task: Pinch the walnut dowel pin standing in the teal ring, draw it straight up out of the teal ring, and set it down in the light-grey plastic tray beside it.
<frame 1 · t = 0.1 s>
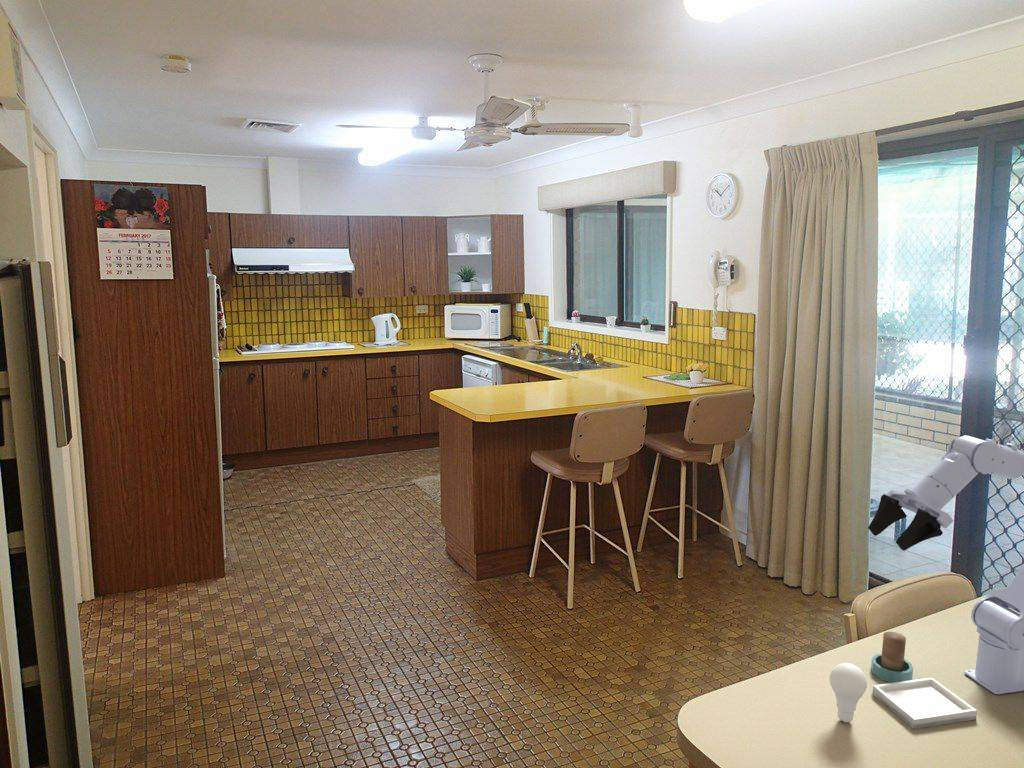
hand: (885, 539, 138), 32 cm above the table, tool tilted 50°, fingers open, 7 cm apart
lightbulb: (844, 722, 136), on the table
teal ring: (891, 673, 152), on the table
tray: (922, 706, 141), on the table
dowel: (893, 655, 151), in the teal ring
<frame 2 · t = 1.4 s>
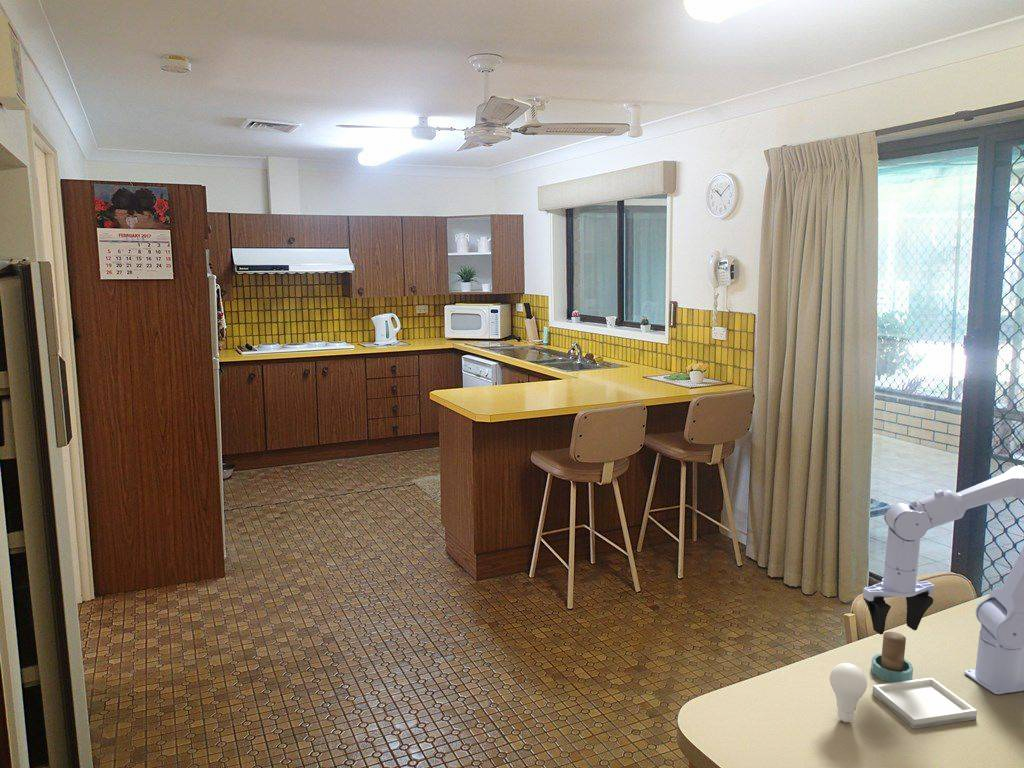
hand: (895, 629, 150), 9 cm above the table, tool pointing down, fingers open, 7 cm apart
nothing on the table moved.
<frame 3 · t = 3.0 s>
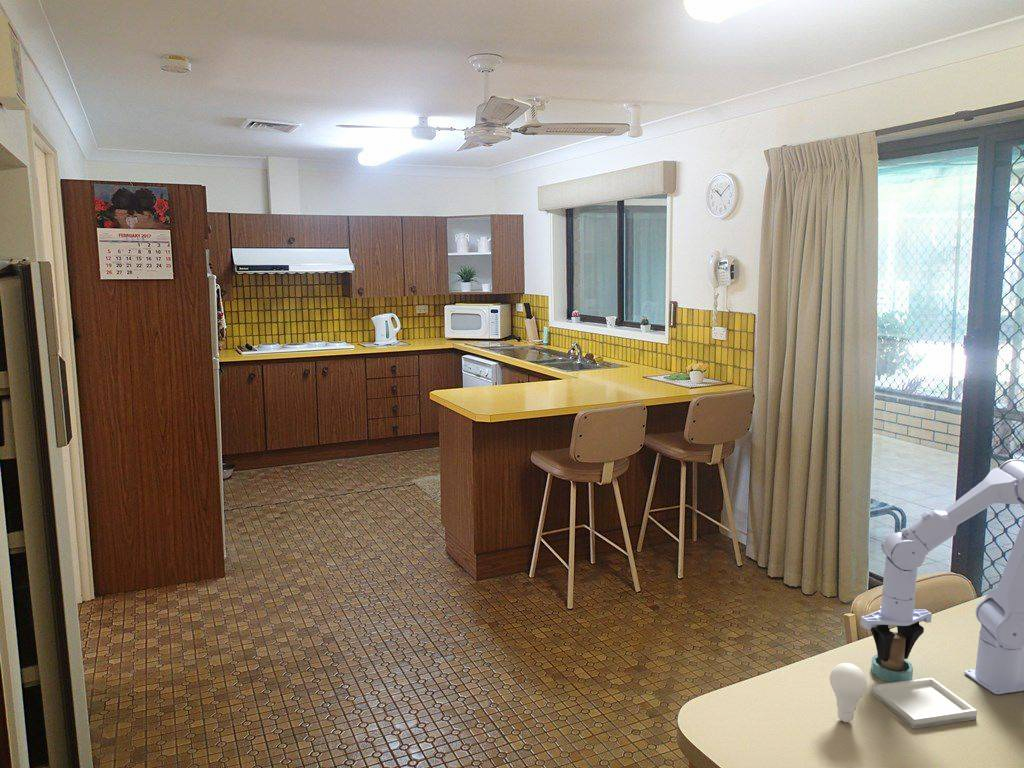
hand: (892, 657, 151), 3 cm above the table, tool pointing down, fingers closed on dowel, 4 cm apart
dowel: (893, 655, 151), in the teal ring, touching gripper
everything else where it was.
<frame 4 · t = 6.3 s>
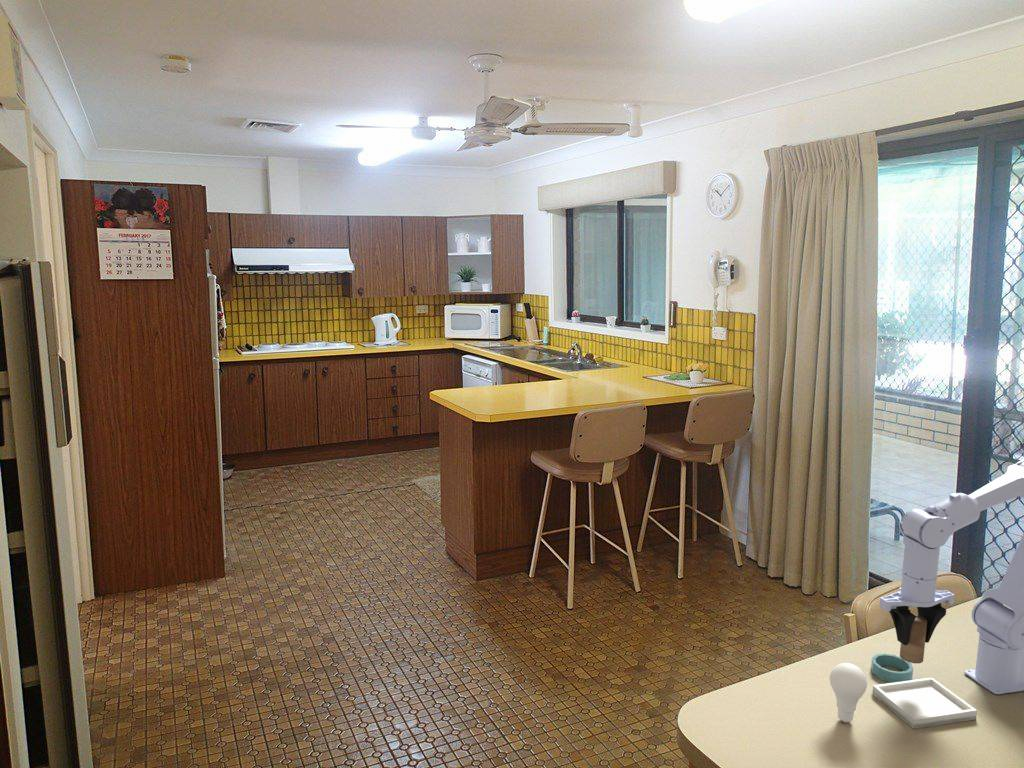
hand: (913, 641, 144), 10 cm above the table, tool pointing down, fingers closed on dowel, 4 cm apart
dowel: (913, 638, 144), point 11 cm above the table, touching gripper
everything else where it was.
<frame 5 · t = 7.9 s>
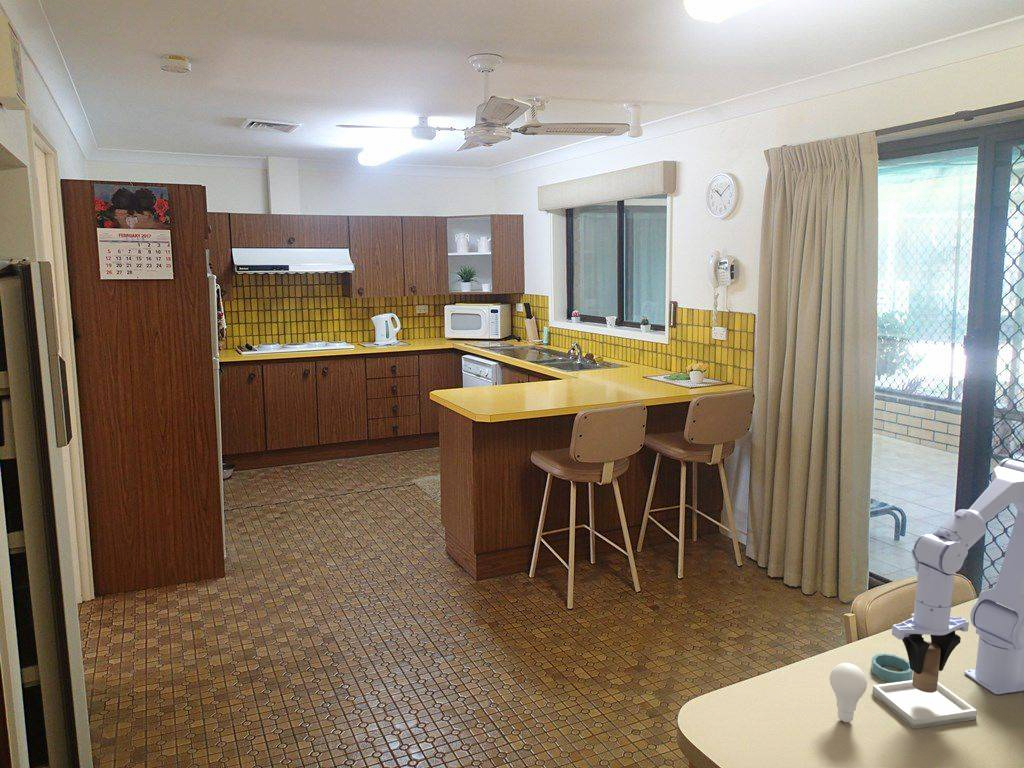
hand: (926, 669, 140), 7 cm above the table, tool pointing down, fingers closed on dowel, 4 cm apart
dowel: (926, 666, 139), point 8 cm above the table, touching gripper
everything else where it was.
when the fingers open (5 cm above the table, at t = 9.5 s): dowel stays where it is, resting on tray.
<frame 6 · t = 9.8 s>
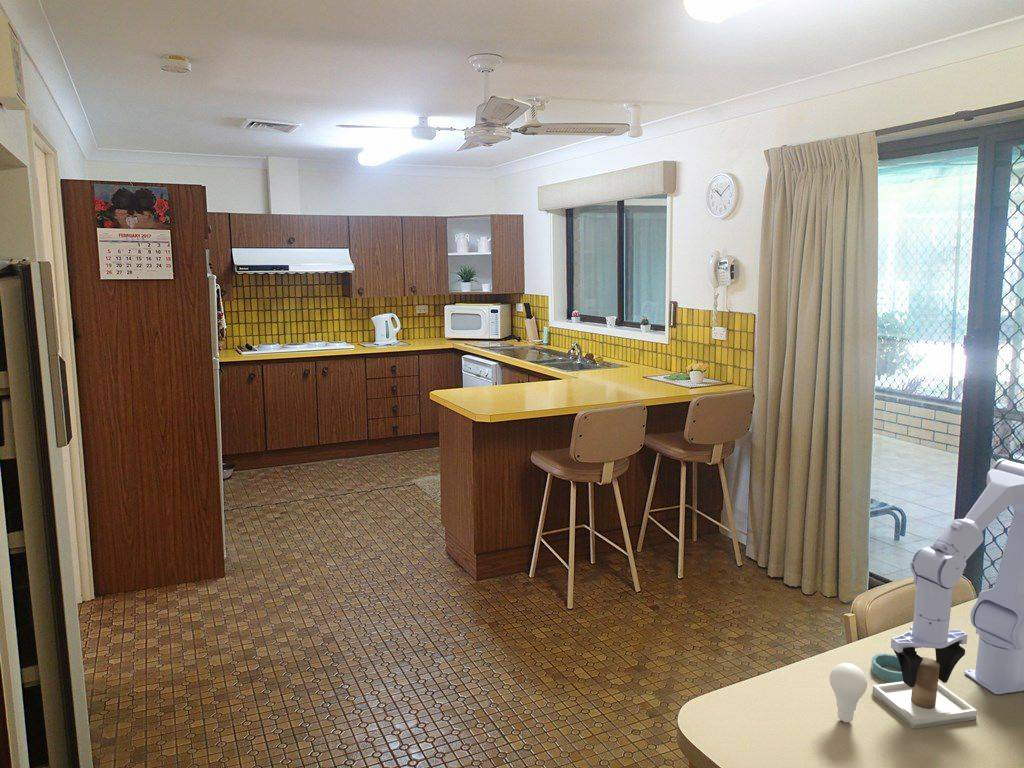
hand: (925, 682, 140), 5 cm above the table, tool pointing down, fingers open, 6 cm apart
dowel: (925, 682, 140), in the tray, point 5 cm above the table
everything else where it was.
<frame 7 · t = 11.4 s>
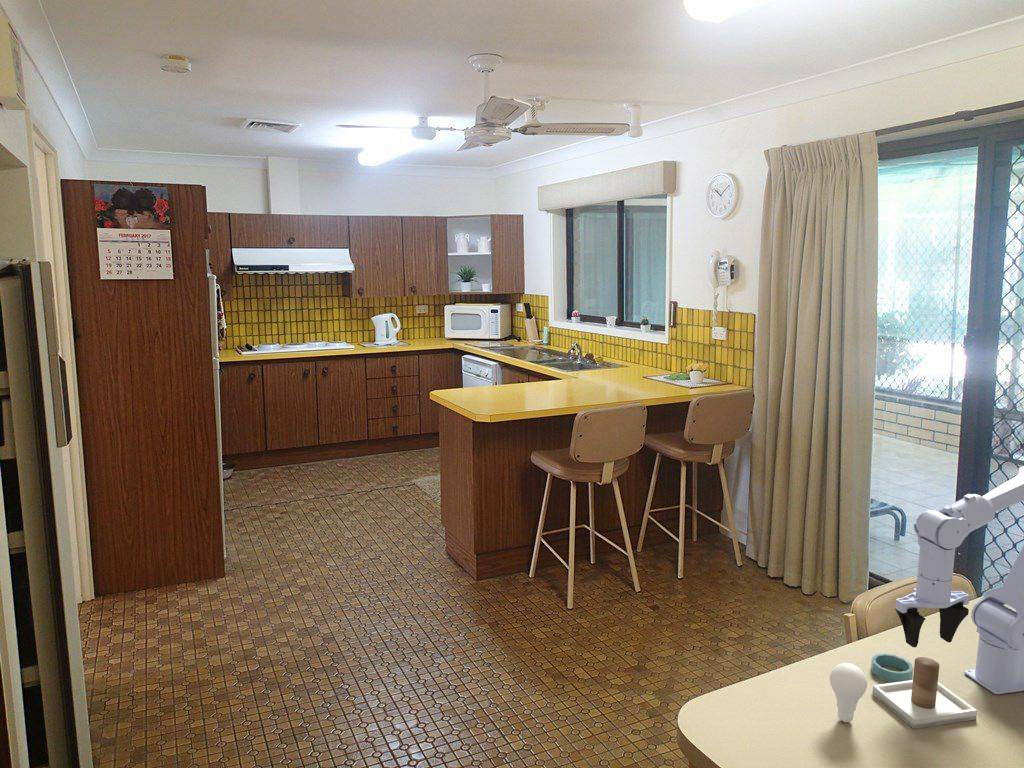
hand: (928, 642, 144), 10 cm above the table, tool pointing down, fingers open, 7 cm apart
nothing on the table moved.
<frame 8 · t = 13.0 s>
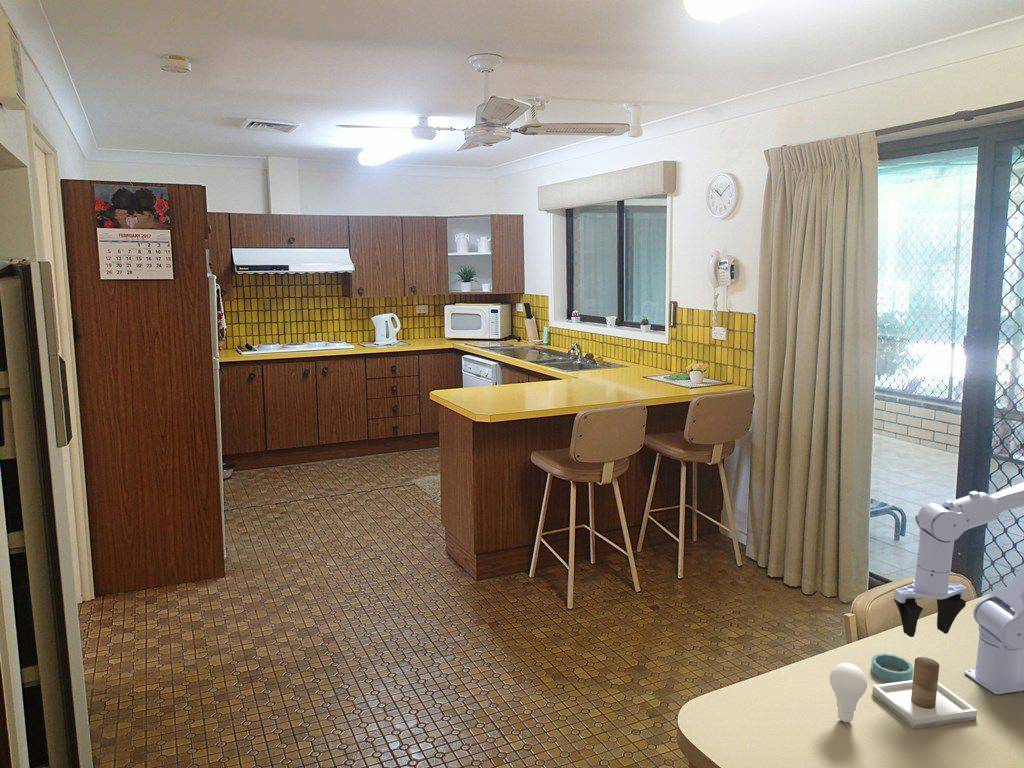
hand: (925, 632, 147), 10 cm above the table, tool pointing down, fingers open, 7 cm apart
nothing on the table moved.
at the end: dowel inside the target area on the tray (0.0 cm from its centre), point 4.8 cm above the tray's base; the gripper is holding nothing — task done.
